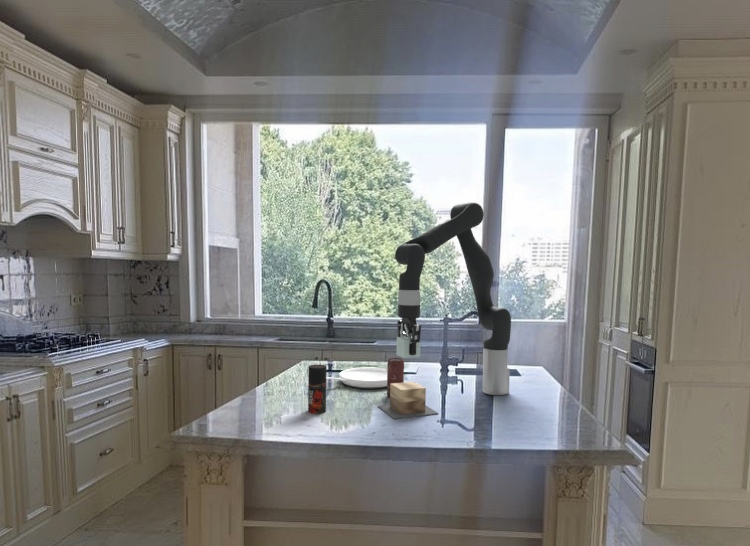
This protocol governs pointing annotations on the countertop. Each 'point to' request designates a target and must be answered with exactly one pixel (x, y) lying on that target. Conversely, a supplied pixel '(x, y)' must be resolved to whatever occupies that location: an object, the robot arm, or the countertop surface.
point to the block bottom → (407, 406)
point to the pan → (364, 377)
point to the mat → (396, 415)
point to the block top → (407, 391)
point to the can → (394, 372)
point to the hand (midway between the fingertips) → (408, 352)
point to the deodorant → (317, 389)
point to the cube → (406, 348)
